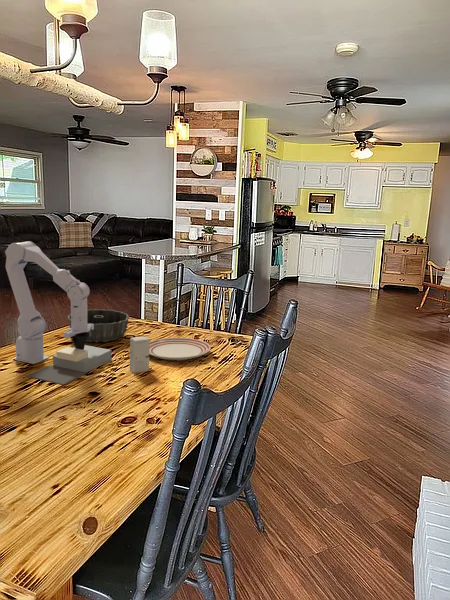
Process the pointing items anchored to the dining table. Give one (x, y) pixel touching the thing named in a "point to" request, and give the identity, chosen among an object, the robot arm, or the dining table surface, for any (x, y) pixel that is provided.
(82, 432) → the dining table surface
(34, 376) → the mat
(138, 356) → the skincare box
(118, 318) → the bundt pan
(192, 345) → the dinner plate
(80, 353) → the cream rectangular block
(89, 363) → the grey flat block
